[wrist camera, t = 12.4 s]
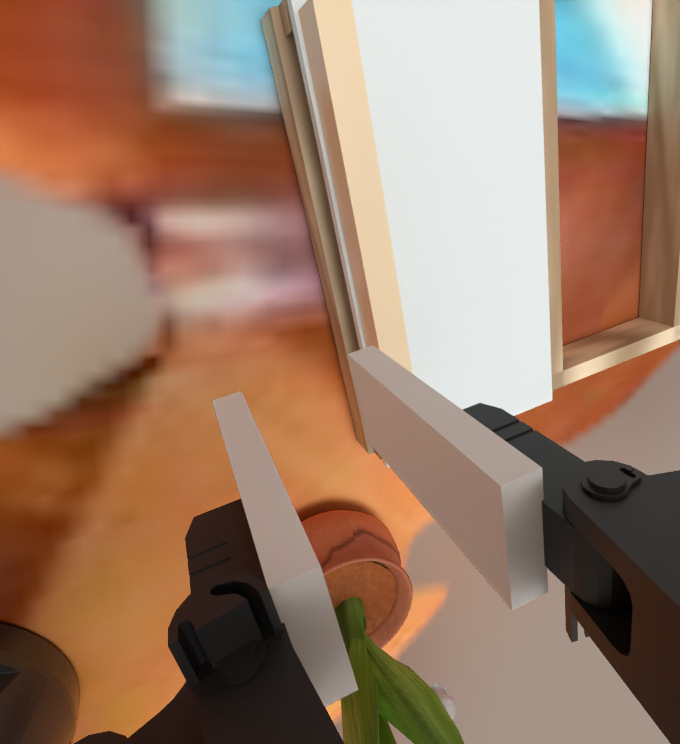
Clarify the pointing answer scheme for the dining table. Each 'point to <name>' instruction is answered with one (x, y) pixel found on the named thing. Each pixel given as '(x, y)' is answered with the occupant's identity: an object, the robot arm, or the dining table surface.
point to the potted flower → (376, 633)
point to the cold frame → (660, 217)
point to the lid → (437, 185)
